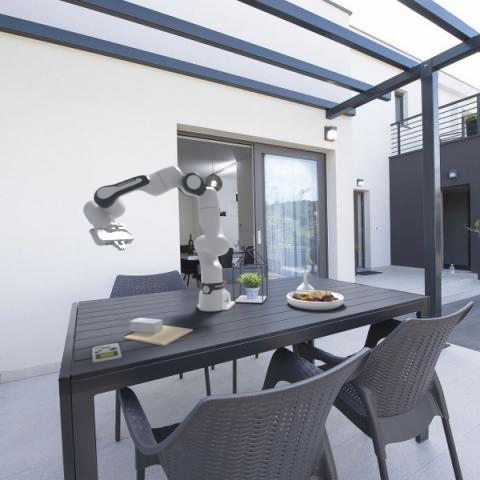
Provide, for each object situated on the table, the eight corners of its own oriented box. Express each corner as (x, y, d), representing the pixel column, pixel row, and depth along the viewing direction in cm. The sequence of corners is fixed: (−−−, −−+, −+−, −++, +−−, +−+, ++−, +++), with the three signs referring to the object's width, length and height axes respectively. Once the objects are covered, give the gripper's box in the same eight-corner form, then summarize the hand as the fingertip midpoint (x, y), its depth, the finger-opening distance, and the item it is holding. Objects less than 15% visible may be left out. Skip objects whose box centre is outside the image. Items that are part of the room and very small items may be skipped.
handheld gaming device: (118, 342, 118) (121, 356, 104) (118, 344, 118) (122, 358, 104) (92, 346, 114) (92, 361, 100) (92, 348, 114) (92, 364, 100)
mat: (154, 325, 139) (154, 323, 139) (192, 330, 130) (192, 329, 130) (123, 338, 123) (123, 337, 123) (164, 345, 114) (164, 344, 114)
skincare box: (129, 331, 129) (154, 334, 125) (129, 321, 129) (154, 323, 125) (139, 327, 135) (163, 329, 131) (138, 317, 135) (162, 319, 131)
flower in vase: (310, 294, 195) (310, 254, 194) (293, 293, 201) (293, 254, 200) (317, 291, 206) (317, 253, 205) (301, 289, 212) (301, 252, 211)
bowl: (277, 301, 181) (277, 287, 181) (323, 296, 190) (323, 284, 190) (304, 314, 152) (303, 298, 152) (355, 308, 162) (355, 293, 161)
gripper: (90, 223, 137) (107, 246, 133) (126, 223, 156) (142, 243, 152) (84, 233, 139) (100, 256, 135) (119, 233, 158) (135, 252, 154)
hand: (122, 249), depth 144 cm, fingers closed
